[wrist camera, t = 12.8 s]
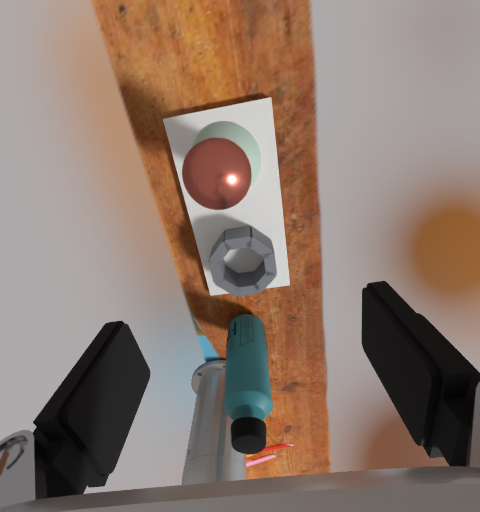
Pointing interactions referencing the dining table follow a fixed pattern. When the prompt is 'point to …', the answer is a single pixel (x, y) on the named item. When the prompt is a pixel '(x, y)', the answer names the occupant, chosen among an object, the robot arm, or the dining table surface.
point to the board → (247, 210)
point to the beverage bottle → (247, 384)
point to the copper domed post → (217, 173)
